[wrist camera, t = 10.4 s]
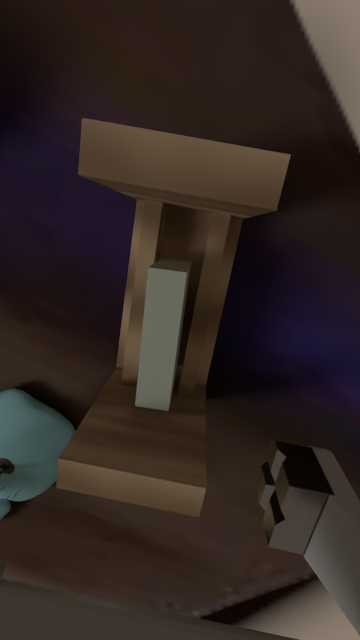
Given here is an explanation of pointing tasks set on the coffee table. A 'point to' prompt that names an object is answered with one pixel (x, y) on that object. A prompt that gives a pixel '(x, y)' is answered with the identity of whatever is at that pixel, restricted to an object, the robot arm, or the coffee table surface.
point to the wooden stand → (200, 313)
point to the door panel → (162, 331)
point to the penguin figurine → (28, 447)
